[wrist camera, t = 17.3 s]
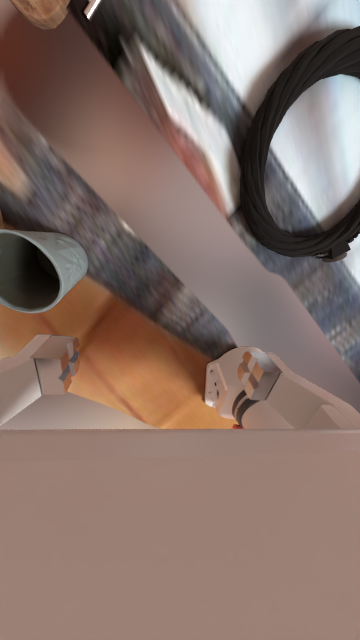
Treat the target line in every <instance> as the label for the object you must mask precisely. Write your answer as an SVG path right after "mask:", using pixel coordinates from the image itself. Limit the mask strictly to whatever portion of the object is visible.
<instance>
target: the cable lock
mask: <svg viewBox="0 0 360 640" xmlns="http://www.w3.org/2000/svg"><path fill="white" fill-rule="evenodd" d="M339 74H344V75H350V76H355V77H359V78H360V26H359V27H356V28H354V29H345V30H338V31H335V32H334V33H332V34H331V35H329V36H327V37H326V38H324V39H323V40H320V41H317V42H315V43H314V44H312V45H311V46H309V47H308V48H307V49H305V50H304V51H302V52H301V53H300V54H299V55H298V56H297V57H296V58H295V59H294V61H293V62H292V63H291V64H290V65H289V66H288V67H287V68H286V69H285V70H284V71H283V72H282V73H281V74H280V76H279V77H278V78H277V80H276V81H275V82H274V84H273V85H272V86H271V88H270V89H269V90H268V92H267V95H266V97H265V99H264V101H263V102H262V104H261V106H260V107H259V109H258V110H257V112H256V115H255V117H254V119H253V122H252V124H251V127H250V129H249V132H248V137H247V140H246V144H245V148H244V151H243V155H242V163H241V175H240V199H241V203H242V207H243V211H244V215H245V217H246V220H247V222H248V224H249V227H250V229H251V231H252V232H253V233H254V234H255V236H256V237H257V238H258V240H259V241H261V242H262V243H263V244H264V245H265V246H266V247H267V248H268V249H270V250H272V251H274V252H276V253H279V254H281V255H284V256H289V257H305V256H312V257H315V256H319V257H324V258H323V261H324V262H336V261H339V260H341V259H343V258H345V257H346V256H347V253H345V252H347V251H349V250H351V249H350V247H349V245H348V243H350V242H352V241H353V240H354V238H356V237H357V236H358V234H360V201H359V202H358V204H357V205H356V206H355V208H354V209H353V210H352V211H351V212H350V213H349V214H348V215H347V216H346V217H345V218H344V219H343V220H342V221H340V222H339V223H338V224H337V225H336V226H334V227H333V228H332V229H330V230H329V231H326V232H324V233H321V234H319V235H315V236H309V237H304V238H300V237H294V236H292V235H291V234H289V233H287V232H285V231H283V230H281V229H280V228H279V227H278V226H277V225H276V223H275V221H274V220H273V218H272V216H271V214H270V213H269V211H268V208H267V205H266V200H265V190H264V171H265V165H266V160H267V155H268V150H269V146H270V143H271V140H272V138H273V135H274V133H275V131H276V129H277V128H278V126H279V124H280V122H281V121H282V119H283V117H284V115H285V114H286V112H287V110H288V109H289V107H290V106H291V105H292V104H293V103H294V102H295V101H296V100H297V98H298V97H299V96H300V95H301V94H302V93H303V92H304V91H305V90H307V89H308V88H309V87H311V86H312V85H313V84H315V83H316V82H317V81H319V80H321V79H324V78H328V77H331V76H335V75H339Z"/></svg>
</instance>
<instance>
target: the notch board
mask: <svg viewBox="0 0 360 640" xmlns="http://www.w3.org/2000/svg"><path fill="white" fill-rule="evenodd" d="M0 229H5V227H4V223H3V218H2V214H1V209H0Z"/></svg>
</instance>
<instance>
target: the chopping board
mask: <svg viewBox="0 0 360 640" xmlns="http://www.w3.org/2000/svg"><path fill="white" fill-rule="evenodd" d="M10 1H11V2H12V4H13V5H14V6H15V8H16V9H17V10H18V11H19V12H20V13H21V14H22V15H23V16H24V17H25V18H26V19H27V20H28V21H29V22H30V23H31V24H32V25H35V26H37V27H39V28H41V29H43V30H45V29H53V28H56V27H57V26H58V25H59V24H60V23H61V22H62V21H63V20H64V18H65V16H66V15H67V13H68V10H67V9H66V7H67V5H68V3H69V2H70V0H10ZM87 1H88V2H89V3H88V5H87V7H86V8H85V10H84V15H85V17H86V18H87V20H88V21H89V22H90V21H91V20H92V18H93V17H94V15H95V13H96V12H97V10H98V9H99V7H100V5H101V4H102V2H103V1H104V0H87Z"/></svg>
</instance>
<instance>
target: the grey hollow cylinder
mask: <svg viewBox="0 0 360 640" xmlns="http://www.w3.org/2000/svg"><path fill="white" fill-rule="evenodd" d="M87 269H88V259H87V256H86V253H85V251H84V249H83V248H82V247H81V245H80V244H79V243H78V242H77V241H75V240H74V239H73V238H71V237H69V236H67V235H65V234H61V233H53V232H52V233H49V232H34V231H32V232H27V231H18V230H8V229H0V304H2V305H3V306H5V307H7V308H10V309H12V310H15V311H19V312H24V313H40V312H44V311H47V310H49V309H51V308H52V307H54V306H55V305H56V304H57V303H58V302H59V301H60V300H61V299H62V298H63V297H64V296H65V294H66V293H67V292H68V291H69V290H70V289H71V288H72V287H74V285H75V284H76V283H77V282H78V281H80V280H81V279H82V278H83V277H84V275H85V274H86V272H87Z"/></svg>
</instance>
